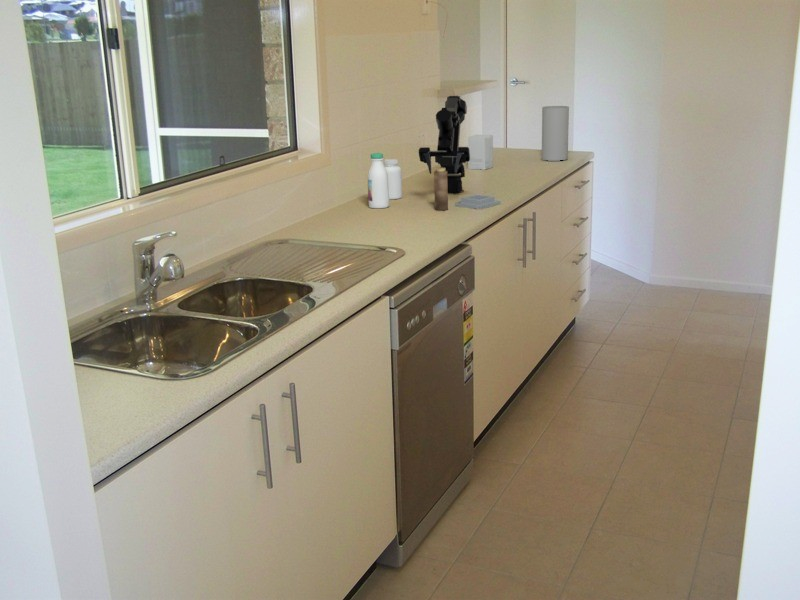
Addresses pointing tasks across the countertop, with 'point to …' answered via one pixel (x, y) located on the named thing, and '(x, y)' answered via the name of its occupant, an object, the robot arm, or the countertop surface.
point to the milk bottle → (378, 183)
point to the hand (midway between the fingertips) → (442, 172)
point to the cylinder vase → (555, 133)
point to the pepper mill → (441, 189)
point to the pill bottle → (394, 178)
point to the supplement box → (480, 151)
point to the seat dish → (477, 201)
